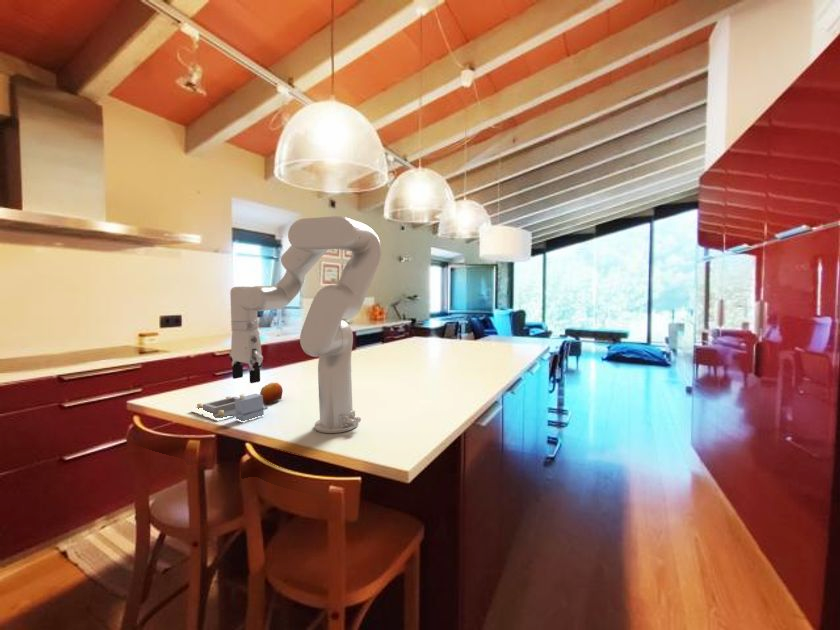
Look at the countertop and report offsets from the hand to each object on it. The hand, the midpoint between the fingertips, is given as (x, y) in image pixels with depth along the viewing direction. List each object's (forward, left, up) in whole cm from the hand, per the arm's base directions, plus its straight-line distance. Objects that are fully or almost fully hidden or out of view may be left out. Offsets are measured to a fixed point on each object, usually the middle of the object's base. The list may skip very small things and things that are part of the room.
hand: (246, 380), depth 123 cm
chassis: (+14, 0, -12) cm, 19 cm away
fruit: (+10, -15, -13) cm, 22 cm away
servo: (-1, 0, -12) cm, 12 cm away
